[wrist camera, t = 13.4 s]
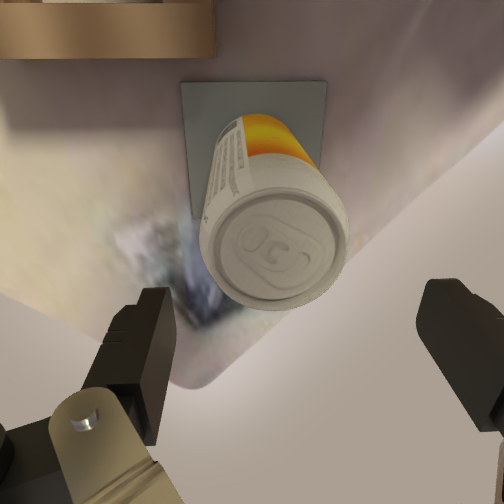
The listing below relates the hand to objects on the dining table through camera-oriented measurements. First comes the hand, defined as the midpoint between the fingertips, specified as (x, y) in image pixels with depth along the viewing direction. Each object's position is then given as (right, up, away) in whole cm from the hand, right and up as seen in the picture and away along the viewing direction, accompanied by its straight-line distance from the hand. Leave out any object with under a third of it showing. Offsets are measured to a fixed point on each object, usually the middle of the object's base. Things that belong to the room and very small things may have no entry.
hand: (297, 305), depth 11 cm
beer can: (-1, +9, +15) cm, 18 cm away
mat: (-1, +9, +16) cm, 18 cm away
